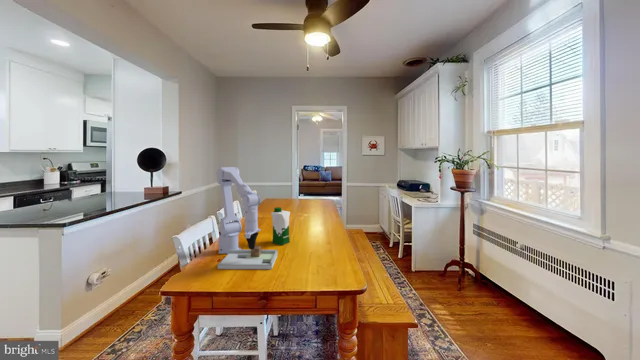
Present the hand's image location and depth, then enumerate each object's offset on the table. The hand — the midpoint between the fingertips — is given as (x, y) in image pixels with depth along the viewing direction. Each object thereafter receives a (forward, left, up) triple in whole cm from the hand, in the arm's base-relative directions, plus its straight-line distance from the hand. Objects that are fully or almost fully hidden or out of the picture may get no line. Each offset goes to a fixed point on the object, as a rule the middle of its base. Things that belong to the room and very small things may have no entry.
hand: (251, 248), depth 130 cm
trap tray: (-2, +1, -7) cm, 7 cm away
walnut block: (+1, +6, -5) cm, 8 cm away
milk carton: (+9, +29, -7) cm, 32 cm away
